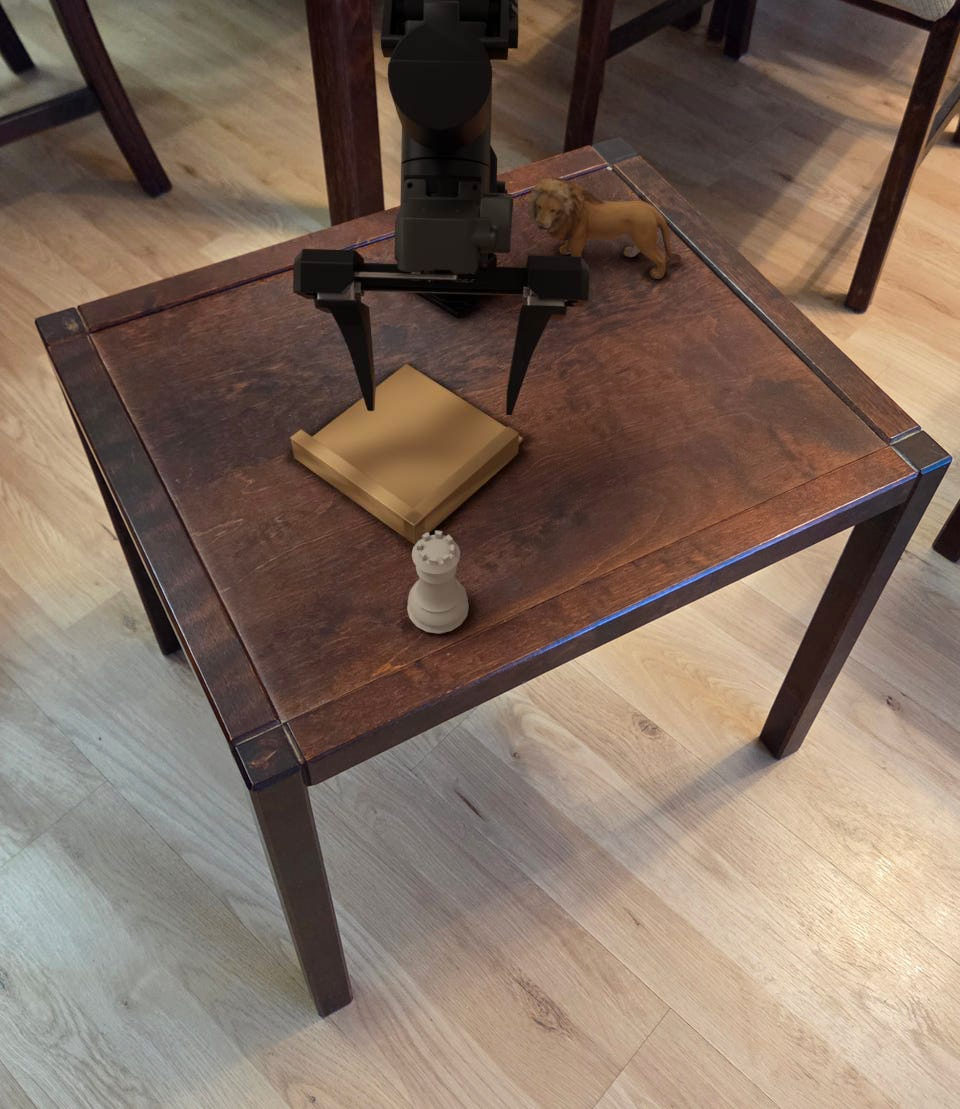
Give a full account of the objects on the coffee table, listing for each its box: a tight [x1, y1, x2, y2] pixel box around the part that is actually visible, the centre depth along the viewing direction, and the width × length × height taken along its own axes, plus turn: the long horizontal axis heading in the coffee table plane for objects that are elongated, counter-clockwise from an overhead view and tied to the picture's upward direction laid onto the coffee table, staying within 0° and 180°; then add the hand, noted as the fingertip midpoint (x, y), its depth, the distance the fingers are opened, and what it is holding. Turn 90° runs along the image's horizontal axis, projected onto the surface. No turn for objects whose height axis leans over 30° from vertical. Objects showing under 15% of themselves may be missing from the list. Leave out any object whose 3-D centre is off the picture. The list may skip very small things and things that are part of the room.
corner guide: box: [290, 363, 524, 546], centre depth 84 cm, size 14×14×2 cm
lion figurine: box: [527, 177, 682, 280], centre depth 96 cm, size 15×5×9 cm, turn 92°
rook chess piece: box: [406, 530, 470, 634], centre depth 73 cm, size 4×4×8 cm
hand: (439, 412), depth 70 cm, fingers open, 9 cm apart
